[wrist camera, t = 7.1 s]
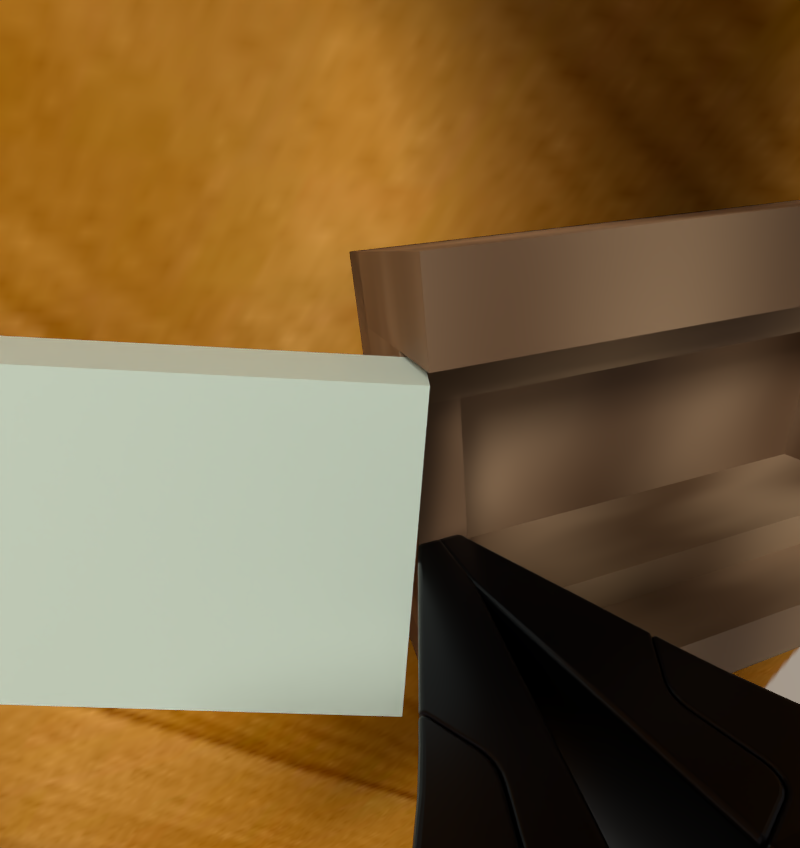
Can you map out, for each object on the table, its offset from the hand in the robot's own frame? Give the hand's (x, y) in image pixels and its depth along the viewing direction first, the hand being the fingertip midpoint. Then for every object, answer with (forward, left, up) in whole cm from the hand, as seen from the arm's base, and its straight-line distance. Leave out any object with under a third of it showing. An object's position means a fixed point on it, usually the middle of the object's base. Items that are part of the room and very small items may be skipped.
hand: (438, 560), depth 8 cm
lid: (+6, -1, -3) cm, 7 cm away
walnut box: (-7, 0, -4) cm, 8 cm away
